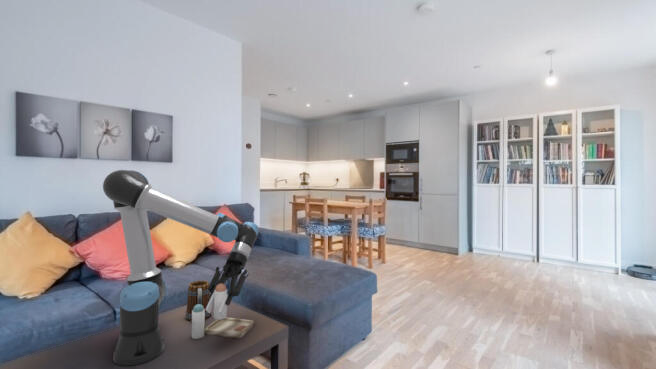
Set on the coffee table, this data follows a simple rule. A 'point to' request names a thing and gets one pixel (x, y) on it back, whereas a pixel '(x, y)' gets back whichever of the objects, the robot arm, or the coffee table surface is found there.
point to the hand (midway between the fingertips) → (214, 312)
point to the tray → (229, 327)
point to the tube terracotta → (219, 301)
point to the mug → (197, 297)
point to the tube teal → (198, 321)
